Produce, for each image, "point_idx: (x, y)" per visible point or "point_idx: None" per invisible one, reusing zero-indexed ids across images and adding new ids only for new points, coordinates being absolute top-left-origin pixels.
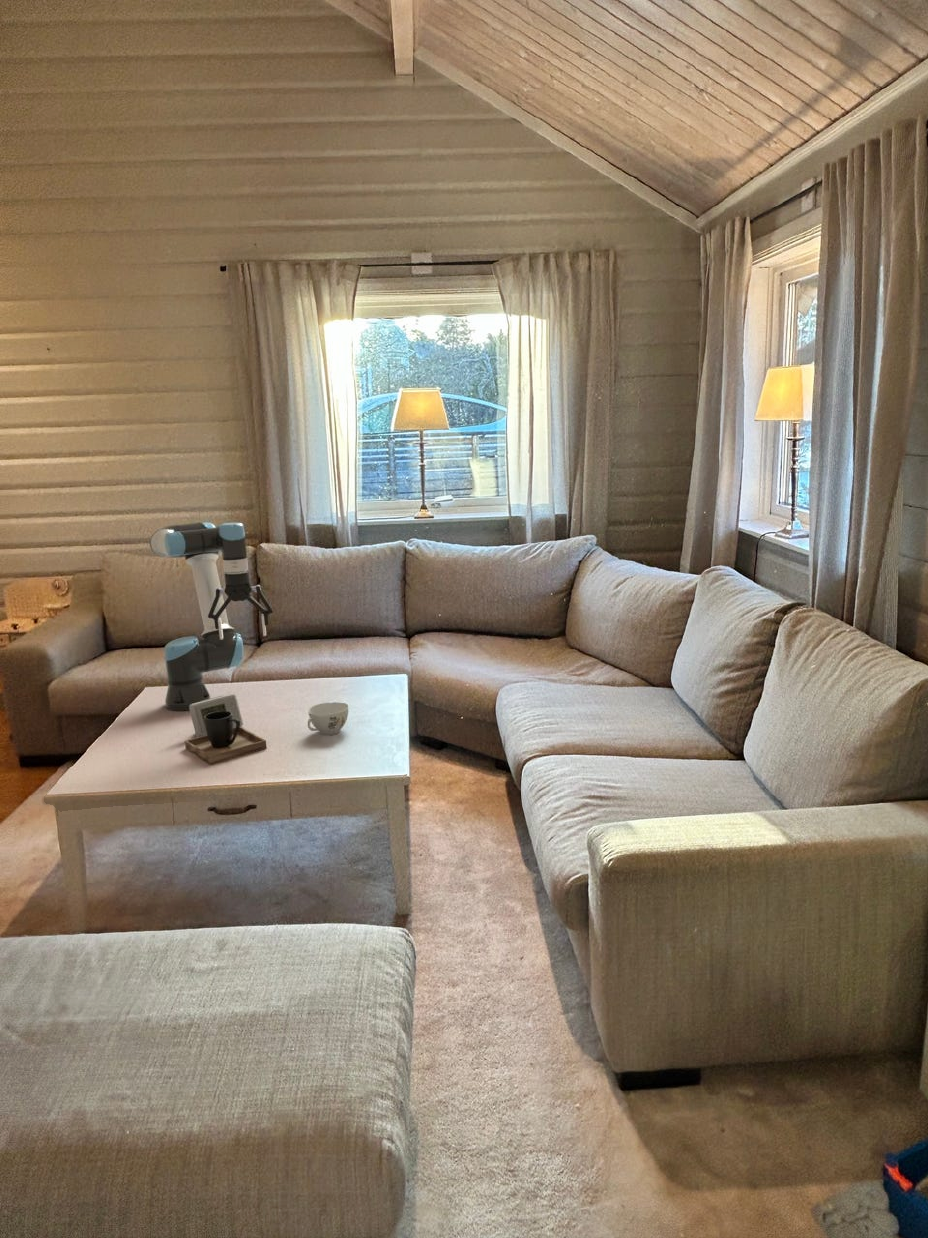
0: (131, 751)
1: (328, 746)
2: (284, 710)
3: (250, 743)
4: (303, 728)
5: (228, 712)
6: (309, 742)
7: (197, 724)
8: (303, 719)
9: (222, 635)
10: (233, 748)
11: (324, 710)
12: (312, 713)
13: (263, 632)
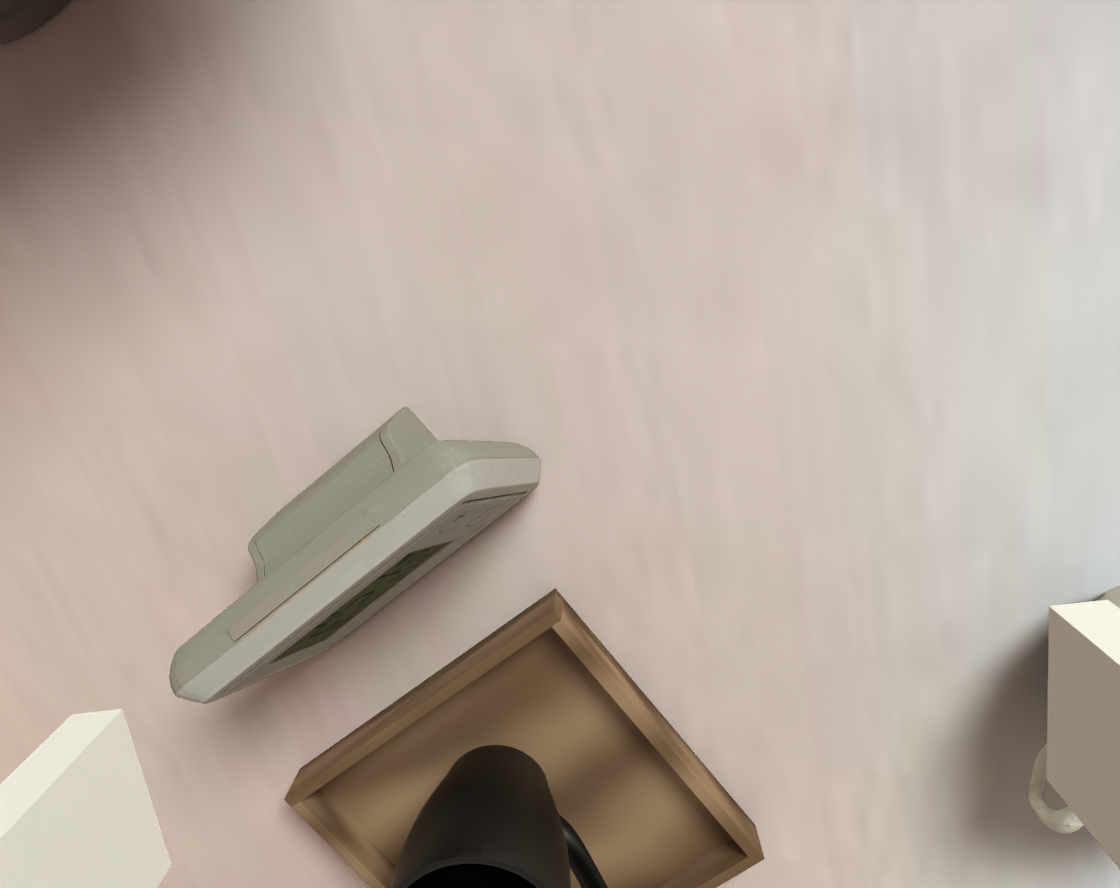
0: (7, 760)
1: (1095, 846)
2: (785, 160)
3: (661, 792)
4: (947, 558)
5: (533, 882)
6: (989, 779)
7: (287, 667)
8: (940, 388)
9: (113, 854)
10: None
11: None
12: None
13: (1108, 843)
